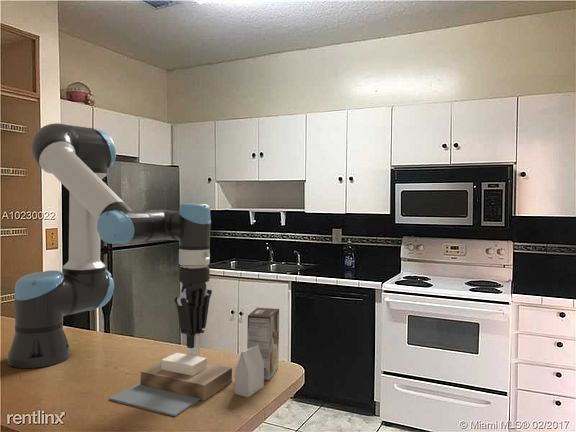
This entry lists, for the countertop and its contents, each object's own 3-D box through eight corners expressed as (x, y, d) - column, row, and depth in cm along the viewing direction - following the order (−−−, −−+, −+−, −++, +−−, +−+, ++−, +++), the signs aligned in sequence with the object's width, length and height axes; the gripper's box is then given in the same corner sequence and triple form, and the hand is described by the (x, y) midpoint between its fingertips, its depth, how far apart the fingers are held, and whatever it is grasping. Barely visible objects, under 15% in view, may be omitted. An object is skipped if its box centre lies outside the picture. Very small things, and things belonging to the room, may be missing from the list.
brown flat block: (140, 386, 112) (140, 371, 112) (172, 369, 123) (172, 356, 123) (204, 400, 105) (204, 385, 105) (231, 381, 116) (232, 367, 116)
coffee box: (255, 365, 128) (256, 306, 127) (278, 367, 126) (280, 308, 126) (246, 378, 119) (247, 315, 118) (270, 380, 117) (272, 316, 117)
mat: (109, 399, 104) (109, 397, 104) (136, 385, 112) (136, 383, 112) (175, 416, 97) (175, 414, 97) (199, 400, 105) (199, 398, 105)
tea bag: (263, 387, 113) (264, 346, 113) (247, 397, 108) (248, 354, 107) (250, 383, 115) (251, 343, 115) (234, 393, 109) (235, 351, 109)
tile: (161, 369, 114) (161, 359, 113) (176, 362, 119) (176, 352, 119) (192, 375, 110) (192, 365, 110) (206, 367, 115) (207, 358, 115)
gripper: (191, 270, 109) (190, 370, 110) (221, 263, 121) (219, 353, 122) (165, 267, 112) (164, 365, 113) (196, 261, 124) (195, 349, 125)
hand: (193, 359), depth 118 cm, fingers closed
